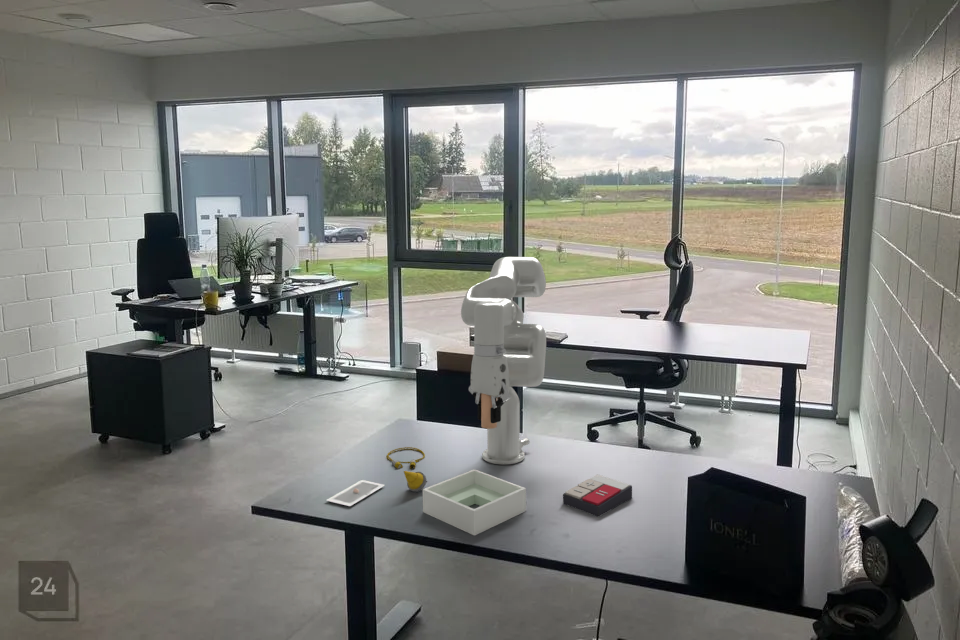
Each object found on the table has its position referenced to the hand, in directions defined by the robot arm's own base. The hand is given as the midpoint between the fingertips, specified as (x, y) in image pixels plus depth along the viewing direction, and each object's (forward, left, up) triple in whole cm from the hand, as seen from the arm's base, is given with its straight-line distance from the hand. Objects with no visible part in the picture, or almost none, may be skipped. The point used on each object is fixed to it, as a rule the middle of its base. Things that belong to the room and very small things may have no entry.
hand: (489, 419), depth 190 cm
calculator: (-15, +23, -21) cm, 35 cm away
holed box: (+11, +5, -20) cm, 23 cm away
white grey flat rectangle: (+25, -24, -21) cm, 41 cm away
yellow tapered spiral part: (+13, -15, -20) cm, 28 cm away
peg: (0, 0, -2) cm, 2 cm away
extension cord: (0, -35, -21) cm, 41 cm away
